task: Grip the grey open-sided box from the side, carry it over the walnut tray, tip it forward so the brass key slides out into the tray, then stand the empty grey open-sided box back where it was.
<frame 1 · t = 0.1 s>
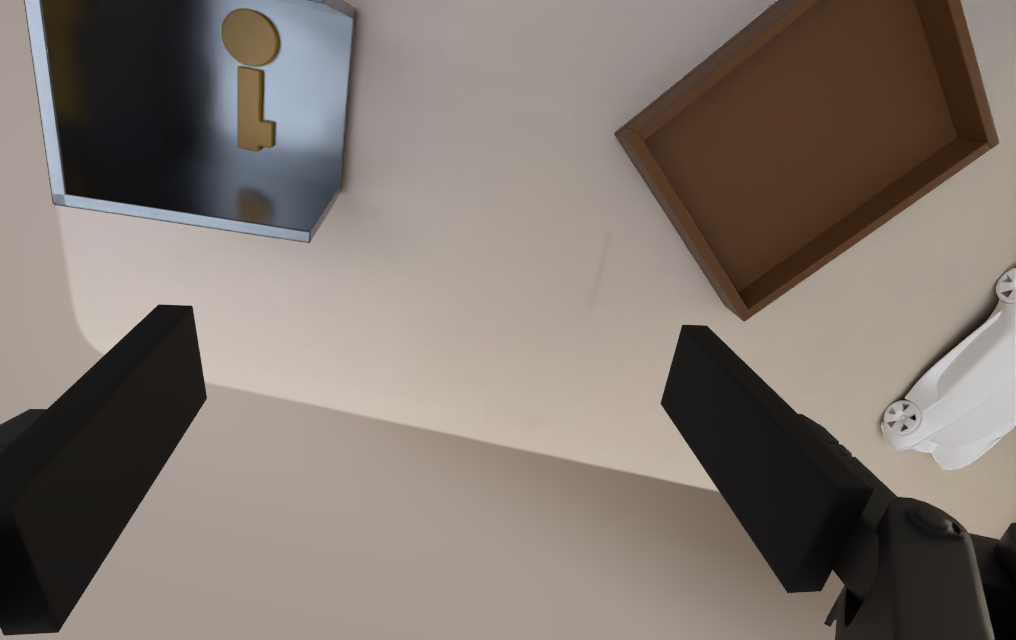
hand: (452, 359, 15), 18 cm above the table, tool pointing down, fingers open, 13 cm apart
toy car: (976, 353, 42), on the table
brass key: (251, 88, 26), point 1 cm above the table, touching grey open-sided box
grey open-sided box: (254, 87, 27), on the table, touching brass key
tray: (795, 135, 32), on the table
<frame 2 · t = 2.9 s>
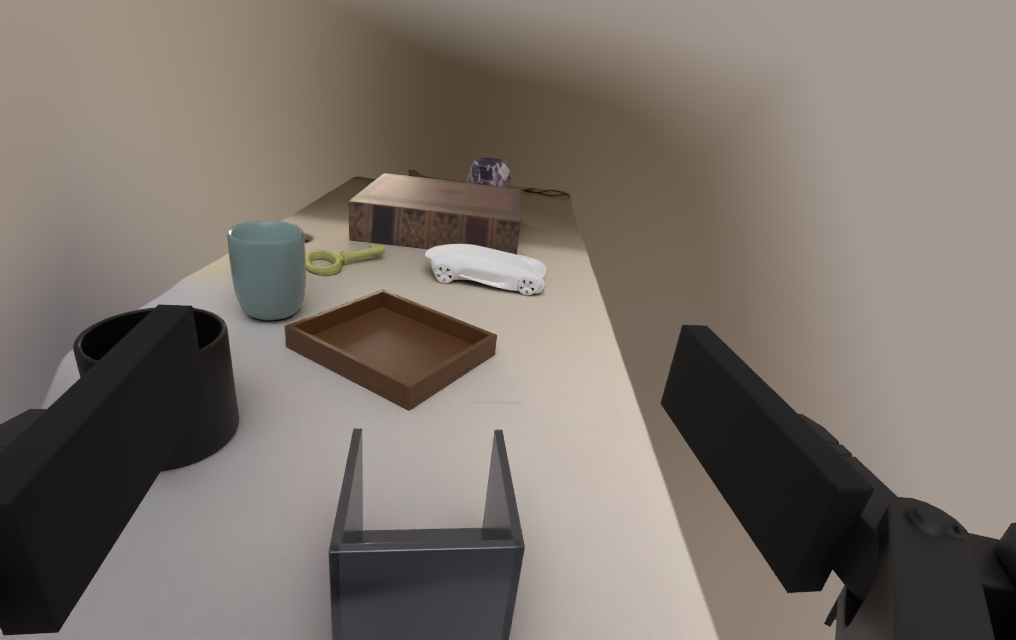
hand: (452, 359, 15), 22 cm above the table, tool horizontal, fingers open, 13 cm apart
mineral specimen: (487, 199, 127), on the table
toy car: (484, 280, 81), on the table
key: (343, 265, 80), on the table
book: (442, 230, 101), on the table
mug: (172, 445, 42), on the table
grey open-sided box: (422, 594, 33), on the table, touching brass key
cup: (273, 314, 63), on the table
tray: (393, 350, 59), on the table
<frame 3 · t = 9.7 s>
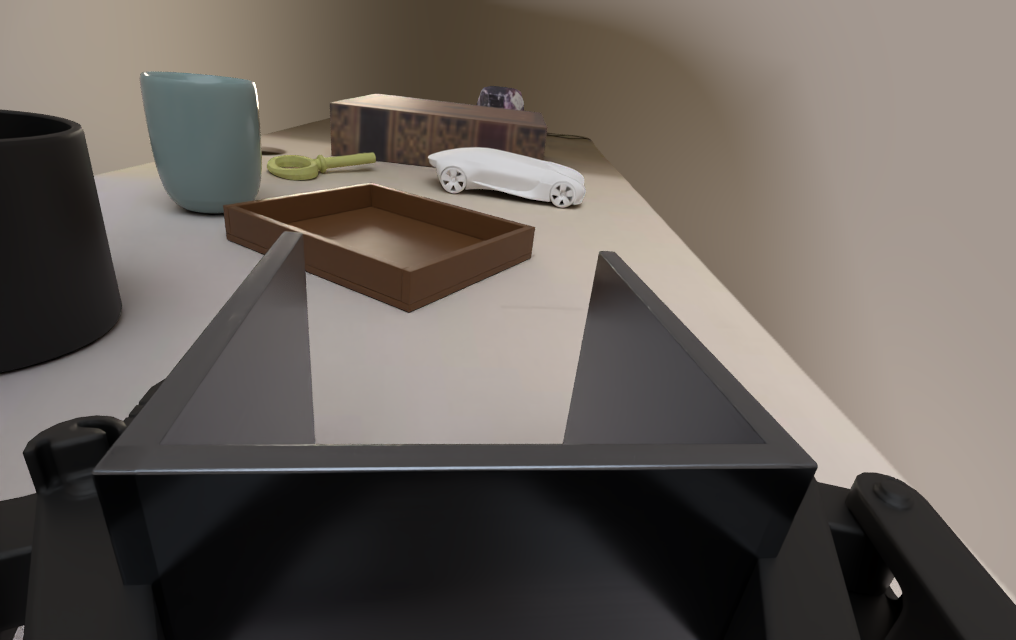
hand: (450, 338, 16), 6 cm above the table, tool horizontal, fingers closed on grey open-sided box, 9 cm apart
mineral specimen: (497, 137, 109), on the table
toy car: (504, 194, 62), on the table
key: (321, 174, 62), on the table
book: (447, 155, 83), on the table
grey open-sided box: (444, 614, 14), on the table, touching brass key, gripper
cup: (216, 210, 45), on the table
tray: (385, 249, 40), on the table
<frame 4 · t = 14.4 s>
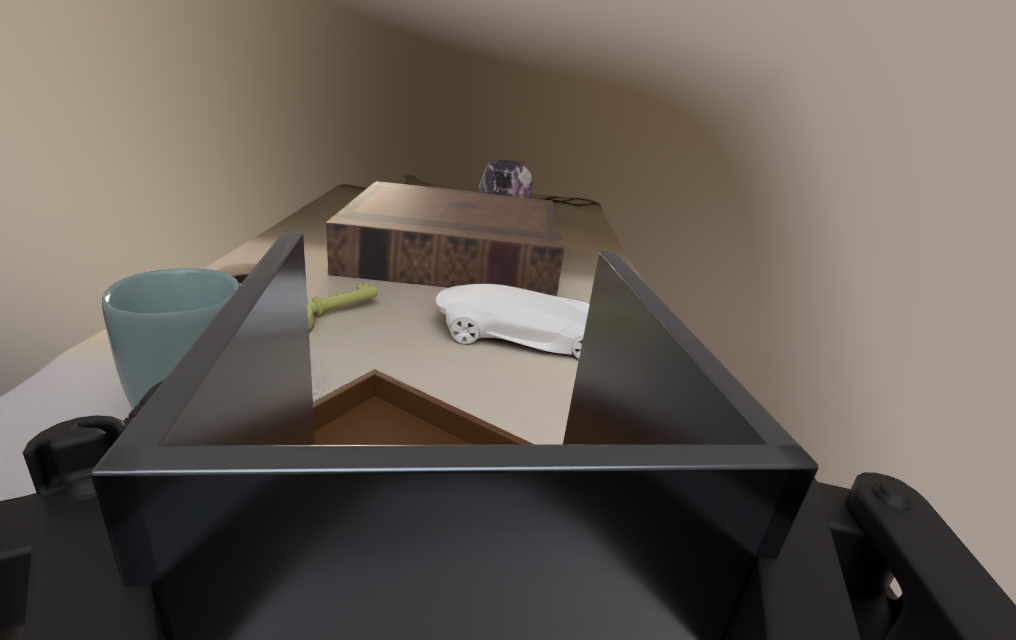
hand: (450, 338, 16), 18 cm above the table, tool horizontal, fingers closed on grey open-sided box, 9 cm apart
mineral specimen: (503, 211, 103), on the table
toy car: (520, 336, 56), on the table
key: (317, 316, 56), on the table
book: (453, 256, 77), on the table
grey open-sided box: (444, 614, 14), point 12 cm above the table, touching brass key, gripper
cup: (196, 418, 39), on the table
tray: (393, 491, 34), on the table
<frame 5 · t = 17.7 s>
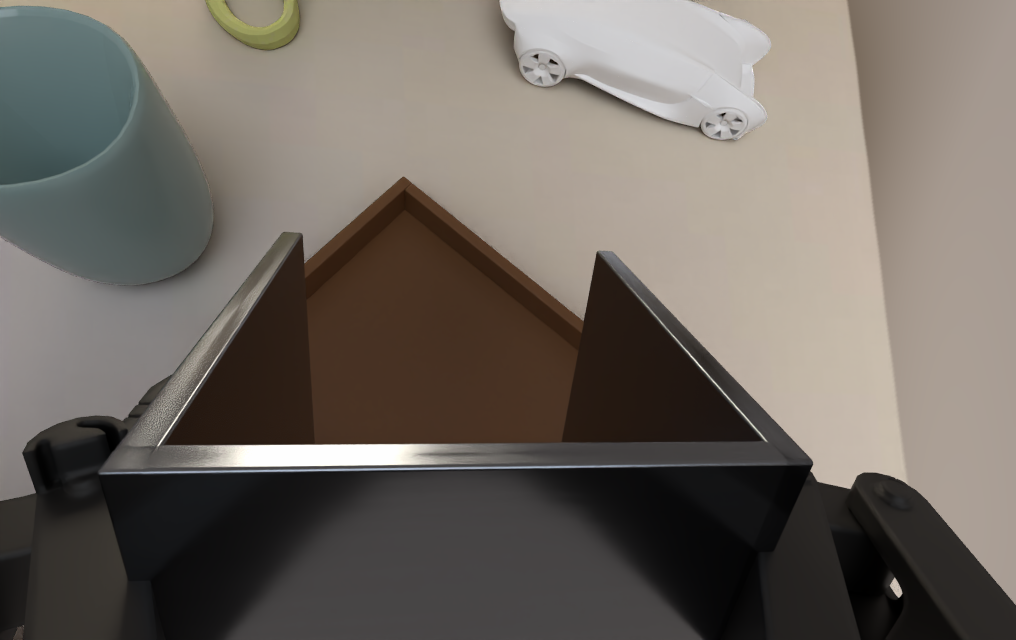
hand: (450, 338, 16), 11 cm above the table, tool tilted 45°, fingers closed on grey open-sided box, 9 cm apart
toy car: (624, 68, 36), on the table
grey open-sided box: (444, 612, 15), point 10 cm above the table, tilted 45°, touching gripper
cup: (153, 237, 27), on the table
tray: (436, 396, 27), on the table
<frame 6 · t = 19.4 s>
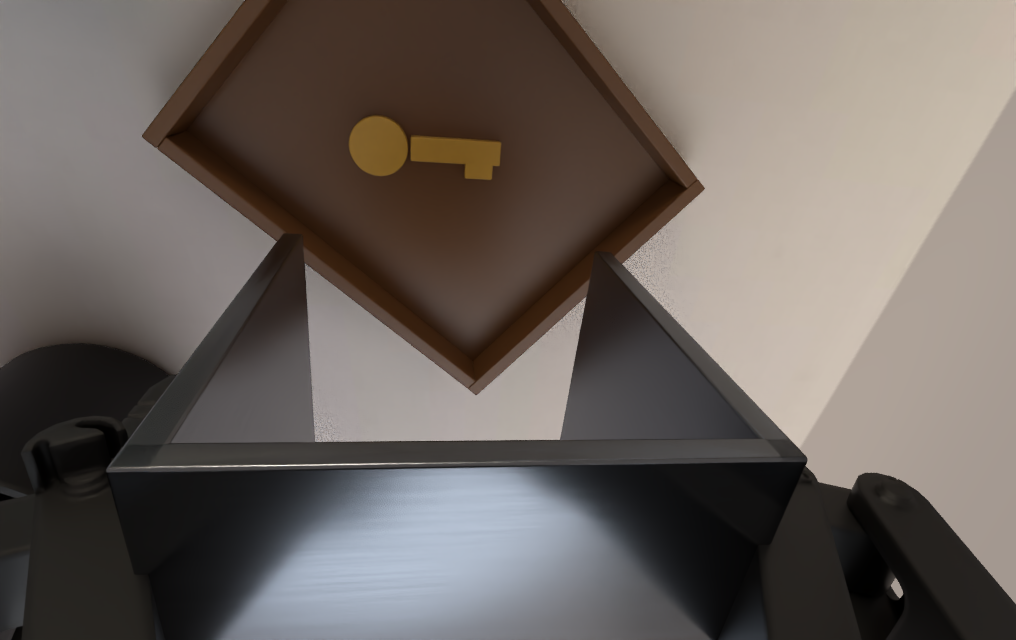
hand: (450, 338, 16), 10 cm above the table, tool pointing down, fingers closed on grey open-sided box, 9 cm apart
brass key: (432, 150, 23), point 1 cm above the table, tilted 180°, touching tray
mug: (118, 438, 28), on the table
grey open-sided box: (444, 609, 15), point 15 cm above the table, tilted 90°, touching gripper
tray: (446, 154, 24), on the table
when the fingers open (6 cm above the table, at t = 30.0 s): grey open-sided box stays where it is, on the table.
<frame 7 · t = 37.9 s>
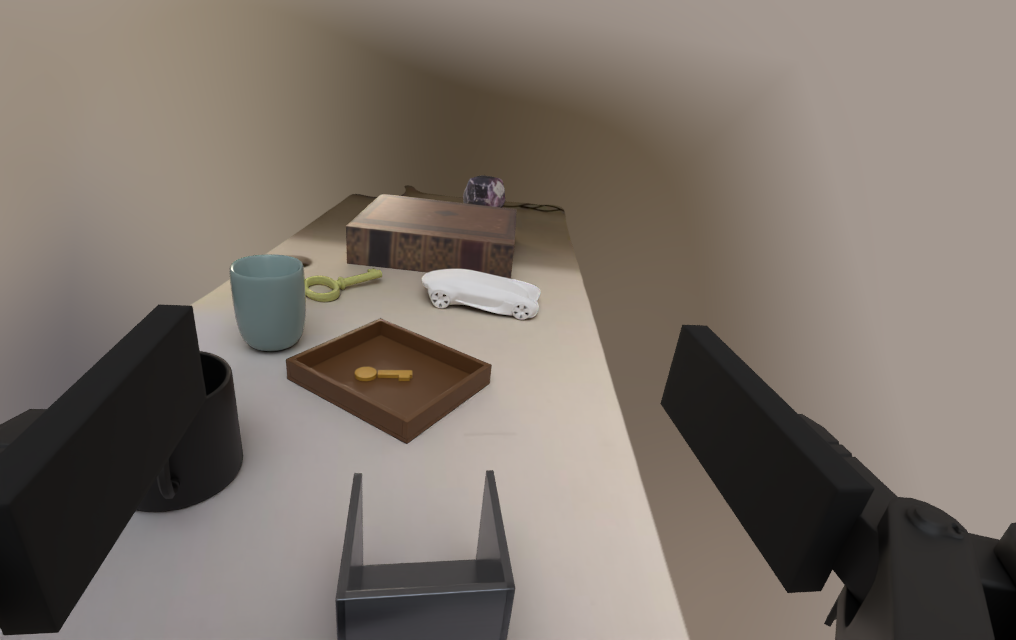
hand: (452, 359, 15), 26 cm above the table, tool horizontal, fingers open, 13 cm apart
mineral specimen: (482, 216, 129), on the table
toy car: (479, 304, 82), on the table
brass key: (386, 372, 60), point 1 cm above the table, tilted 180°, touching tray
key: (341, 290, 82), on the table
book: (439, 251, 103), on the table
mug: (180, 483, 44), on the table
grey open-sided box: (420, 626, 35), on the table
cup: (274, 344, 65), on the table
tray: (391, 381, 60), on the table
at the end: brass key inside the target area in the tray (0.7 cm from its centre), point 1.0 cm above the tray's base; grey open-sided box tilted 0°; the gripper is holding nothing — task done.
